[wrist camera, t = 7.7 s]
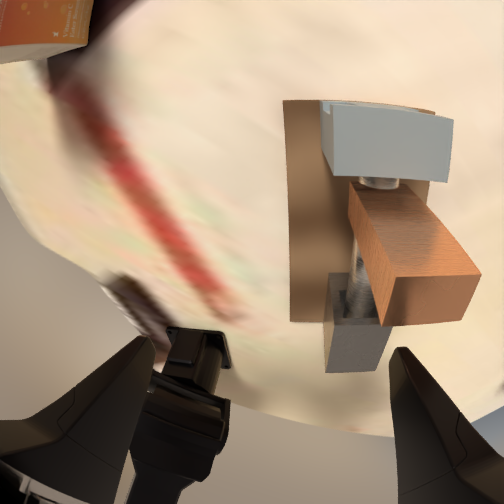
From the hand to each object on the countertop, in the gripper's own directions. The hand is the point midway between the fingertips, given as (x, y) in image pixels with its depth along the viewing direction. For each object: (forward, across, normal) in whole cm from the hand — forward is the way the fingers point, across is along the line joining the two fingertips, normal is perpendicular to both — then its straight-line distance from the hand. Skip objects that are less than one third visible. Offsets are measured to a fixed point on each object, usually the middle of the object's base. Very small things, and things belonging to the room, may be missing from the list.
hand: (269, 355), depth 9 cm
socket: (+11, -5, -6) cm, 14 cm away
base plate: (+13, -5, +1) cm, 14 cm away
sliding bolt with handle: (+9, -5, 0) cm, 11 cm away
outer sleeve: (+12, -6, +7) cm, 15 cm away
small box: (+13, +16, -19) cm, 28 cm away
